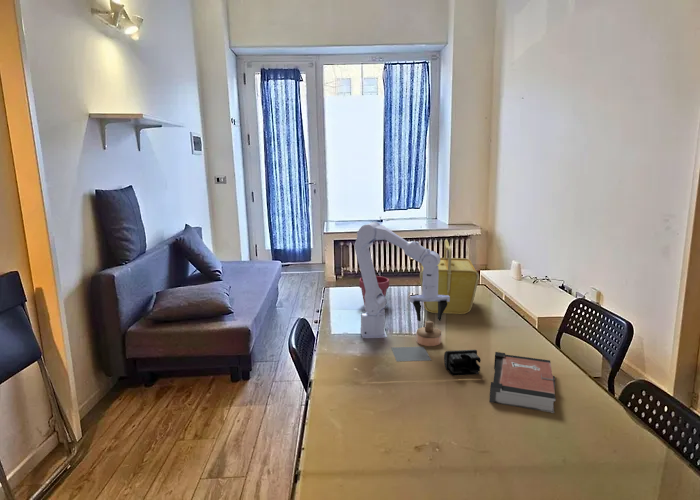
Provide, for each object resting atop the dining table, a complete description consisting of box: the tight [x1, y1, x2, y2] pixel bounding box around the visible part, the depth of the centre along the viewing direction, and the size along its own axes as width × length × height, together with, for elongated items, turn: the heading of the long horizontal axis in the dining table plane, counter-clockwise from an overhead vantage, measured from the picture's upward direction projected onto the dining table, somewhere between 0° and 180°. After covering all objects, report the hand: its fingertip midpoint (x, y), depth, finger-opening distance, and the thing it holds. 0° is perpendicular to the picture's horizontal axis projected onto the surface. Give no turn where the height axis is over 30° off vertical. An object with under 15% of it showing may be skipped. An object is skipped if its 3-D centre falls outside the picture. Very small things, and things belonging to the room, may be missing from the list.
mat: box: [390, 346, 432, 362], centre depth 160 cm, size 12×12×1 cm
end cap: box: [443, 349, 481, 377], centre depth 147 cm, size 10×7×7 cm
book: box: [489, 351, 556, 414], centre depth 137 cm, size 26×18×5 cm
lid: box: [416, 320, 442, 338], centre depth 171 cm, size 9×9×4 cm
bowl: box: [415, 331, 442, 347], centre depth 172 cm, size 9×9×4 cm
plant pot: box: [358, 275, 390, 306], centre depth 217 cm, size 14×14×13 cm
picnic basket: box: [418, 239, 480, 315], centre depth 215 cm, size 29×26×30 cm
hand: (429, 320), depth 170 cm, fingers open, 7 cm apart
